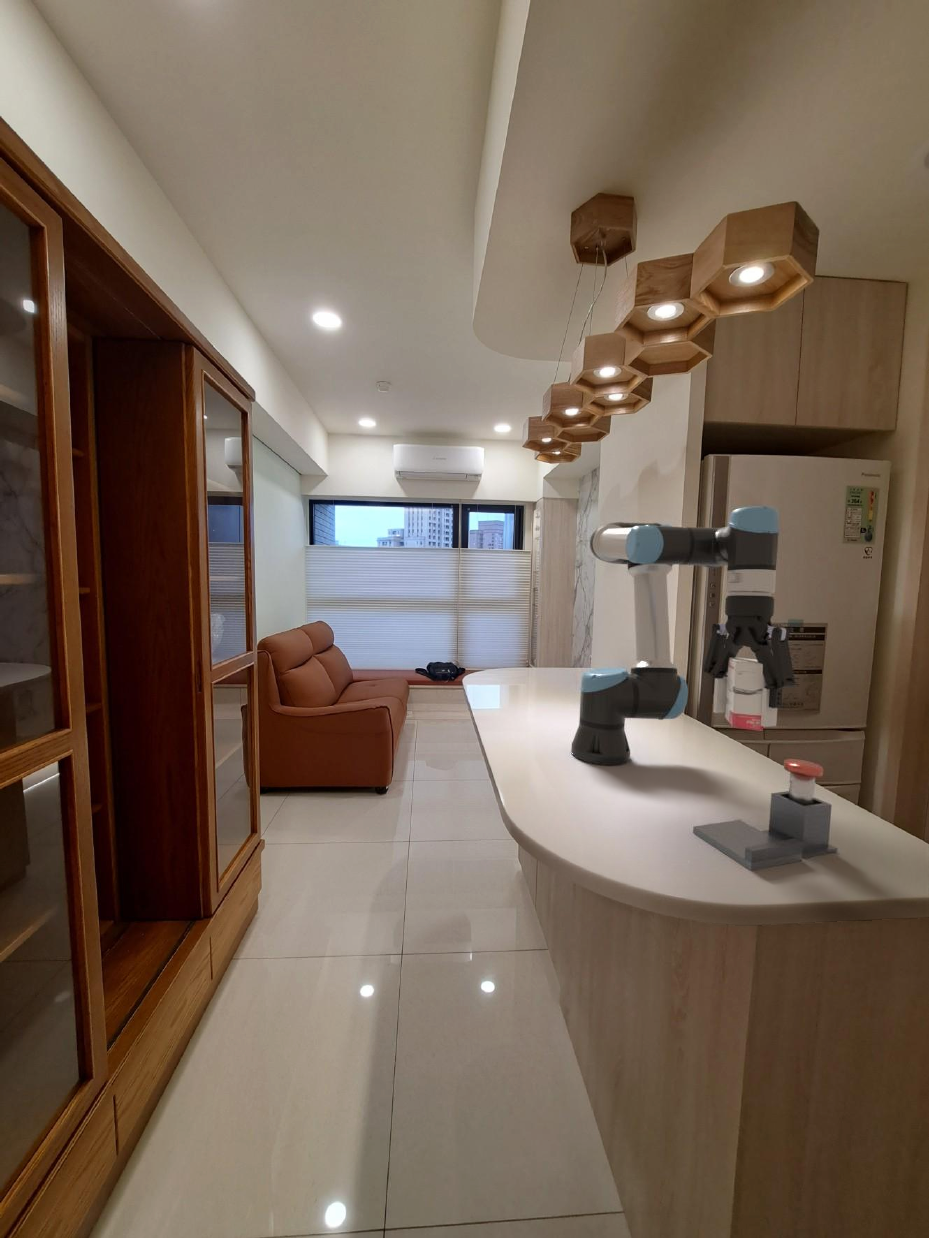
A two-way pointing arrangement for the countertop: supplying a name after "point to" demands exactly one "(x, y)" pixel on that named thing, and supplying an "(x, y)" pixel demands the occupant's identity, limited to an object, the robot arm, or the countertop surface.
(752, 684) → the ink box
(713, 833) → the tray
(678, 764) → the countertop surface
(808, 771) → the plunger
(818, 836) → the housing
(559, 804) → the countertop surface
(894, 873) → the countertop surface
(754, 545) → the robot arm
